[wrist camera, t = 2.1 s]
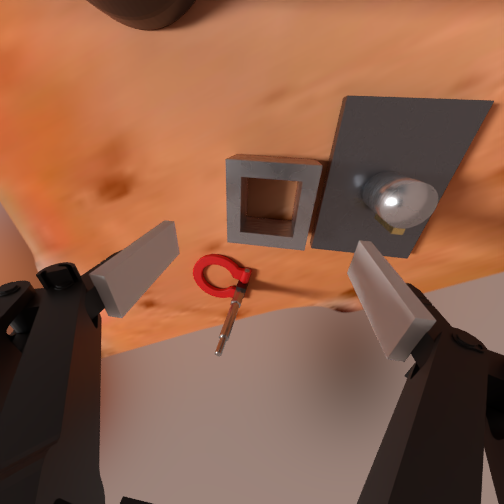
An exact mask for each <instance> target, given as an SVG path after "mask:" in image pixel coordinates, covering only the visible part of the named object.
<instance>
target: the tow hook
mask: <svg viewBox="0 0 504 504" xmlns="http://www.w3.org/2000/svg"><path fill="white" fill-rule="evenodd" d="M212 264H216V265H220V266H223V267H225V268H226V269H227V270H229V272H230V273H231V274H232V276H233V278H235V279H238V280H239V281H238V284H237V286H236V287H234V286H230V287H228V288H225V289H219V288H215V287H213V286H211V285H210V284H209V283H208V282H207V281H206V280H205V278H204V276H203V269H204V268H205V267H206V266H208V265H212ZM251 272H252V271H251V269H250V268H240V267H238V265H237V264H236V263H235V262H233V261H232V260H231V259H229V258H227V257H225V256H222V255H218V254H210V255H205V256H203V257H202V258H200V259H199V260H198V261H197V262H196V264H195V266H194V268H193V276H194V279H195V281H196V283H197V285H198V286H199V287H200V288H201V289H202V290H203V291H205V292H206V293H208V294H210V295H212V296H215V297H220V298H226V297H231V298H232V301H231V307H230V309H229V312H228V314H227V317H226V320H225V322H224V325H223V328H222V330H221V333H220V336H219V338H220V340H219V343H218V346H217V349H216V351H215V355H217V356H221V354H222V351H223V349H224V345H225V342H226V341H227V340H228V339H229V336H230V333H231V330H232V327H233V324H234V321H235V318H236V315H237V312H238V309H239V308H240V306H241V302H242V299H243V298H244V295H245V292H246V289H247V286H248V281H249V278H250V275H251Z"/></svg>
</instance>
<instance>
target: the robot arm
mask: <svg viewBox="0 0 504 504" xmlns="http://www.w3.org/2000/svg"><path fill="white" fill-rule="evenodd" d="M87 1H88V2H89V3H91V4H92V5H93V6H95V7H96V8H98V9H99V10H101V11H102V12H104V13H105V14H107V15H108V16H110V17H111V18H113V19H114V20H116V21H118V22H120V23H122V24H124V25H126V26H129V27H132V28H135V29H141V30H153V29H159V28H162V27H165V26H167V25H169V24H171V23H173V22H175V21H176V20H177V19H179V18H180V17H181V16H182V15H183V14H185V12H186V11H187V10H188V9H189V8H190V7H191V6H192V4H193V3H194V1H195V0H87ZM178 255H179V247H178V241H177V235H176V229H175V223H174V221H163V222H162V223H160V224H159V225H157V226H156V227H155V228H153V229H152V230H150V231H149V232H148V233H146V234H145V235H143V236H142V237H140V238H139V239H138V240H136V241H135V242H133V243H132V244H131V245H129V246H128V247H126V248H125V249H124V250H121V251H119V252H116V253H114V254H112V255H111V256H109V257H108V258H106V260H104V261H102V262H101V263H100V264H98V265H96V266H95V267H93V268H92V269H91V270H89V271H88V272H86V273H85V274H83V275H82V276H80V274H79V272H78V270H77V268H76V266H75V264H73V263H68V262H65V263H58V264H54V265H51V266H49V267H46V268H44V269H42V270H41V271H39V272H38V273H37V274H36V276H37V277H38V279H39V281H40V282H41V284H42V285H43V287H44V288H41V289H34V288H33V287H32V285H31V284H30V282H28V281H16V282H10V283H8V284H4V285H2V286H1V287H0V504H105V495H104V488H103V484H102V481H101V477H100V471H99V445H100V440H99V439H100V380H101V375H100V374H101V316H100V314H99V313H100V312H101V311H102V310H103V309H104V308H105V309H106V312H107V314H108V316H112V317H118V318H123V317H124V315H125V314H126V313H127V312H128V311H129V310H130V309H131V307H132V306H133V305H134V304H135V303H136V302H137V301H138V300H139V298H140V297H141V296H142V295H143V294H144V293H145V292H146V291H147V289H148V288H149V287H150V286H151V285H152V284H153V283H154V282H155V280H156V279H157V278H158V277H159V276H160V275H161V274H162V273H163V271H164V270H165V269H166V268H167V267H168V266H169V265H170V264H171V262H172V261H173V260H174V259H175V258H176V257H177V256H178ZM347 274H348V276H349V278H350V280H351V282H352V285H353V287H354V289H355V291H356V293H357V295H358V298H359V300H360V302H361V304H362V306H363V308H364V311H365V313H366V315H367V317H368V319H369V321H370V323H371V326H372V328H373V330H374V332H375V334H376V336H377V339H378V341H379V343H380V345H381V347H382V350H383V352H384V354H385V356H386V358H387V359H390V360H397V361H403V362H405V360H406V359H407V358H408V357H409V355H410V354H412V356H413V358H414V360H415V361H416V363H415V364H414V365H413V366H412V367H411V368H410V370H409V371H408V372H407V373H406V374H405V377H407V381H406V383H405V386H404V388H403V390H402V393H401V396H400V398H399V400H398V403H397V405H396V408H395V410H394V413H393V415H392V418H391V420H390V423H389V425H388V428H387V430H386V433H385V435H384V438H383V440H382V443H381V445H380V447H379V450H378V452H377V455H376V457H375V460H374V463H373V465H372V467H371V470H370V473H369V475H368V477H367V480H366V483H365V485H364V487H363V490H362V492H361V495H360V497H359V500H358V502H357V504H481V491H482V472H483V452H484V448H485V452H486V456H487V460H488V464H489V468H490V472H491V476H492V480H493V483H494V487H495V491H496V495H497V499H498V503H499V504H504V355H501V354H498V353H496V352H493V351H490V350H487V348H486V347H485V346H484V344H483V343H482V342H481V341H479V340H478V339H477V338H476V337H474V336H472V335H470V334H469V333H467V332H465V331H462V330H460V329H458V328H453V327H452V326H450V324H449V323H448V322H447V321H446V319H445V318H444V317H443V316H442V315H441V314H440V313H439V311H438V310H437V309H436V308H435V307H434V306H432V304H431V302H429V300H428V299H427V298H426V297H425V296H424V294H423V293H422V292H421V291H420V290H419V289H417V288H416V287H414V286H413V285H412V284H409V283H405V282H404V281H403V280H402V278H401V277H400V276H399V275H398V273H397V272H396V271H395V270H394V269H393V267H392V266H391V265H390V264H389V263H388V261H387V260H386V259H385V258H384V257H383V255H382V254H381V253H380V252H379V250H378V249H377V248H376V247H375V246H374V244H373V243H372V242H371V241H361V240H359V242H358V245H357V248H356V250H355V253H354V256H353V259H352V261H351V264H350V267H349V269H348V272H347ZM9 325H10V326H11V327H12V328H13V329H14V331H13V332H12V333H11V334H10V335H8V334H7V333H6V332H7V331H6V330H7V328H8V326H9ZM120 504H152V503H148V502H144V501H140V500H136V499H132V498H128V497H123V498H122V500H121V502H120Z"/></svg>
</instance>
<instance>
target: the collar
mask: <svg viewBox="0 0 504 504" xmlns="http://www.w3.org/2000/svg"><path fill="white" fill-rule="evenodd" d="M321 171H322V165H321V164H320V163H319V162H318V161H317V160H315V159H302V158H287V157H271V156H256V155H241V154H236V155H234V156H231V157H229V158H227V159H226V196H227V242H231V243H240V244H249V245H258V246H267V247H276V248H286V249H295V250H305V245H306V240H307V236H308V231H309V226H310V222H311V217H312V213H313V208H314V203H315V199H316V194H317V190H318V185H319V180H320V176H321ZM248 177H250V178H263V179H276V180H289V181H298V185H297V191H296V197H295V203H294V209H293V215H292V221H291V220H280V219H270V218H260V217H249V216H247V205H248Z"/></svg>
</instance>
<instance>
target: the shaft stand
mask: <svg viewBox="0 0 504 504" xmlns="http://www.w3.org/2000/svg"><path fill="white" fill-rule="evenodd" d="M493 102H494V101H487V100H459V99H430V98H402V97H374V96H346V97H344V98H343V101H342V106H341V110H340V115H339V119H338V123H337V128H336V132H335V136H334V141H333V145H332V149H331V154H330V158H329V163H328V167H327V171H326V176H325V180H324V184H323V189H322V193H321V197H320V202H319V206H318V211H317V215H316V219H315V224H314V228H313V232H312V237H311V241H310V244H311V248H315V249H324V250H333V251H343V252H352V253H355V250H356V248H357V245H358V242H359V240H361V241H371V242H372V243H373V244H374V246H375V247H376V248H377V249H378V250H379V252H380V253H381V254H382V255H383V256H389V257H398V258H408V257H409V255H410V253H411V251H412V249H413V247H414V246H415V244H416V242H417V240H418V238H419V237H420V235H421V233H422V231H423V229H424V228H425V226H426V224H427V222H428V220H429V218H430V217H431V215H432V213H433V212H434V210H435V209H436V207H437V204H438V202H439V200H440V198H441V197H442V195H443V193H444V191H445V189H446V188H447V186H448V184H449V182H450V180H451V179H452V177H453V175H454V173H455V171H456V169H457V168H458V166H459V164H460V162H461V160H462V159H463V157H464V155H465V153H466V151H467V150H468V148H469V146H470V144H471V142H472V140H473V139H474V137H475V135H476V133H477V131H478V130H479V128H480V126H481V124H482V122H483V120H484V119H485V117H486V115H487V113H488V111H489V110H490V108H491V106H492V104H493Z"/></svg>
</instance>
